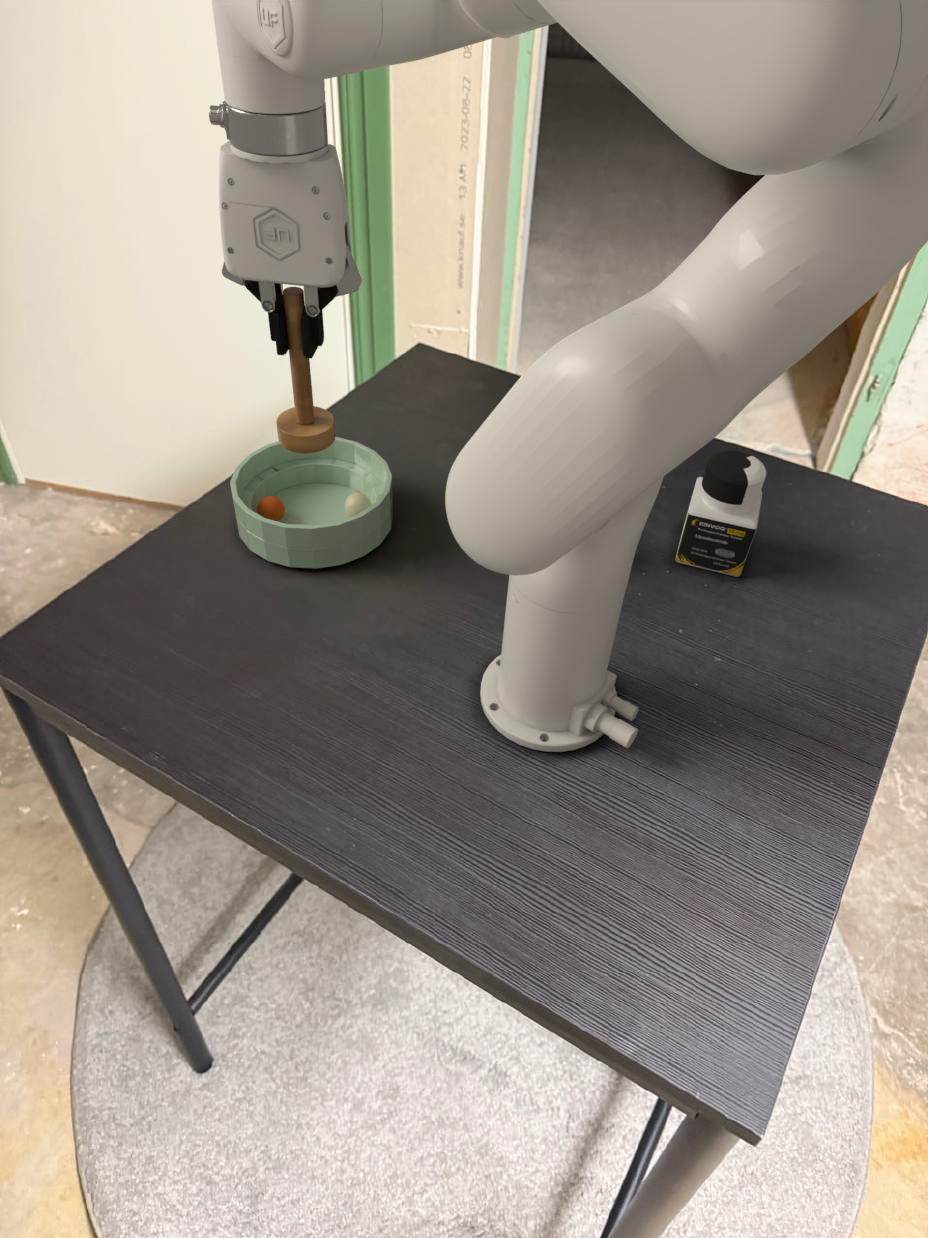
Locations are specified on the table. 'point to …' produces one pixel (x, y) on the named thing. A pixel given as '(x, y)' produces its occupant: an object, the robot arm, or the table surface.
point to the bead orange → (271, 508)
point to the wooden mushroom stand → (302, 390)
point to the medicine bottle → (723, 513)
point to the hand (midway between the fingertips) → (298, 348)
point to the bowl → (313, 503)
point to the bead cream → (356, 503)
